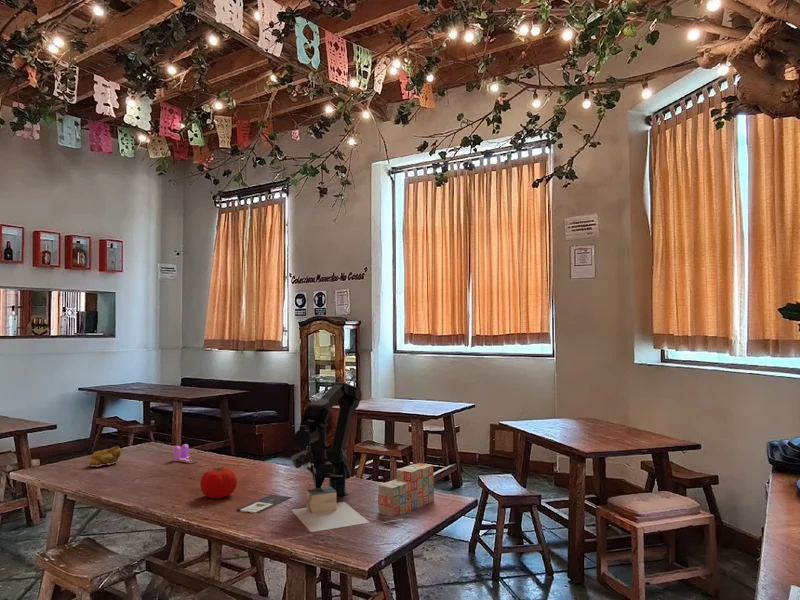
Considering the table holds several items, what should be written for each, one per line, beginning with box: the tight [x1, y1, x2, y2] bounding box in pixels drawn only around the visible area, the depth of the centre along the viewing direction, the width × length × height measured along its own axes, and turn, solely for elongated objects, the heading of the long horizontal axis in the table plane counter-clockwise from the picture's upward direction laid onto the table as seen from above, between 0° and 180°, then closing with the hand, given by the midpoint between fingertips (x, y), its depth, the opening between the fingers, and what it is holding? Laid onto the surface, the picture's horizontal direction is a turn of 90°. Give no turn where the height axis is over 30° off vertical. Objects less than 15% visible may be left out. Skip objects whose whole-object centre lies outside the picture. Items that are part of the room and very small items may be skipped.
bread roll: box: [88, 445, 122, 466], centre depth 255 cm, size 13×10×8 cm
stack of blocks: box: [377, 462, 435, 517], centre depth 187 cm, size 21×6×12 cm, turn 140°
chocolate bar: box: [236, 493, 293, 514], centre depth 193 cm, size 9×1×18 cm
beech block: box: [306, 486, 338, 514], centre depth 185 cm, size 6×8×6 cm
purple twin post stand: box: [172, 443, 192, 461], centre depth 260 cm, size 13×6×7 cm, turn 56°
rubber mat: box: [291, 501, 370, 533], centre depth 179 cm, size 23×18×1 cm
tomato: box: [199, 466, 238, 499], centre depth 203 cm, size 11×13×10 cm
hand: (317, 490), depth 189 cm, fingers closed
